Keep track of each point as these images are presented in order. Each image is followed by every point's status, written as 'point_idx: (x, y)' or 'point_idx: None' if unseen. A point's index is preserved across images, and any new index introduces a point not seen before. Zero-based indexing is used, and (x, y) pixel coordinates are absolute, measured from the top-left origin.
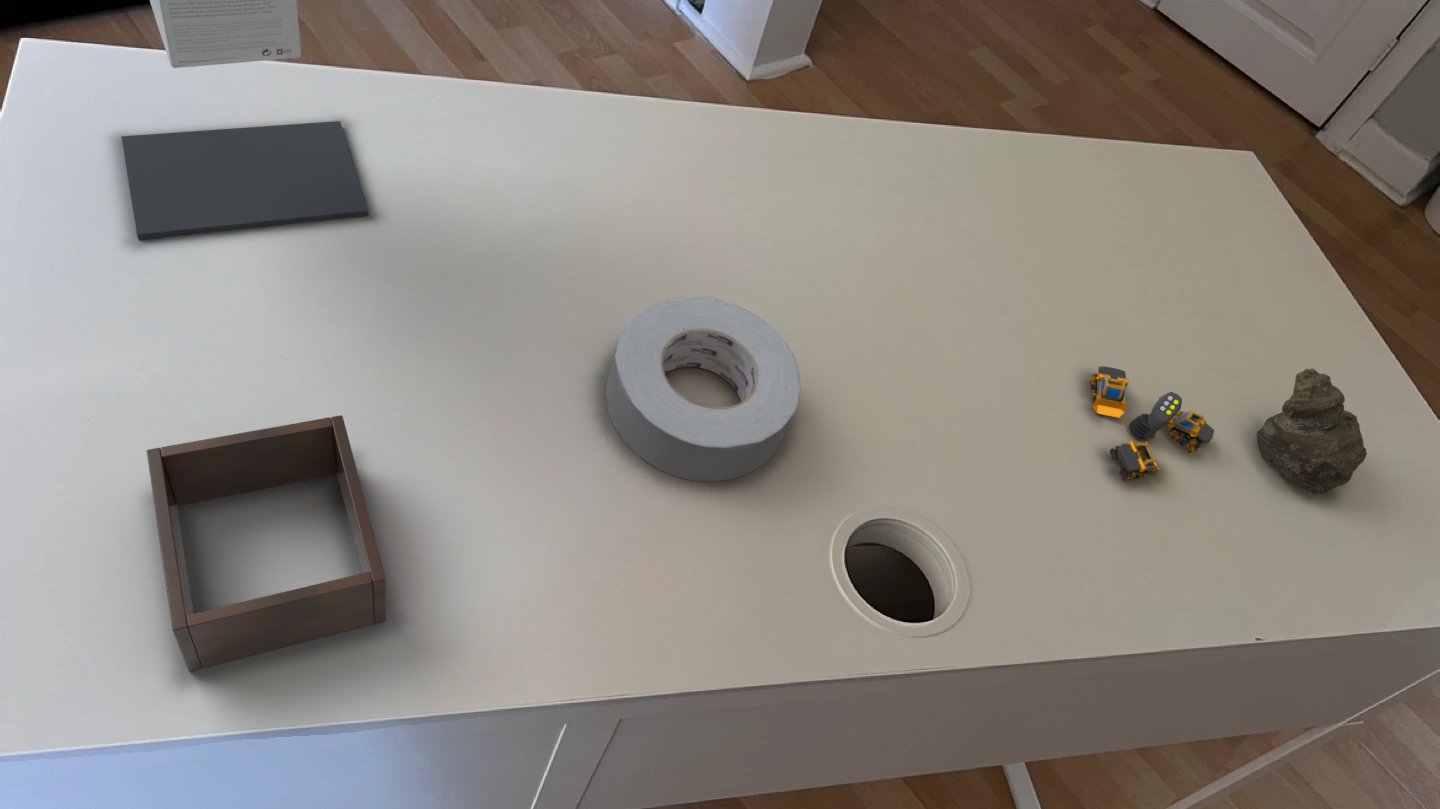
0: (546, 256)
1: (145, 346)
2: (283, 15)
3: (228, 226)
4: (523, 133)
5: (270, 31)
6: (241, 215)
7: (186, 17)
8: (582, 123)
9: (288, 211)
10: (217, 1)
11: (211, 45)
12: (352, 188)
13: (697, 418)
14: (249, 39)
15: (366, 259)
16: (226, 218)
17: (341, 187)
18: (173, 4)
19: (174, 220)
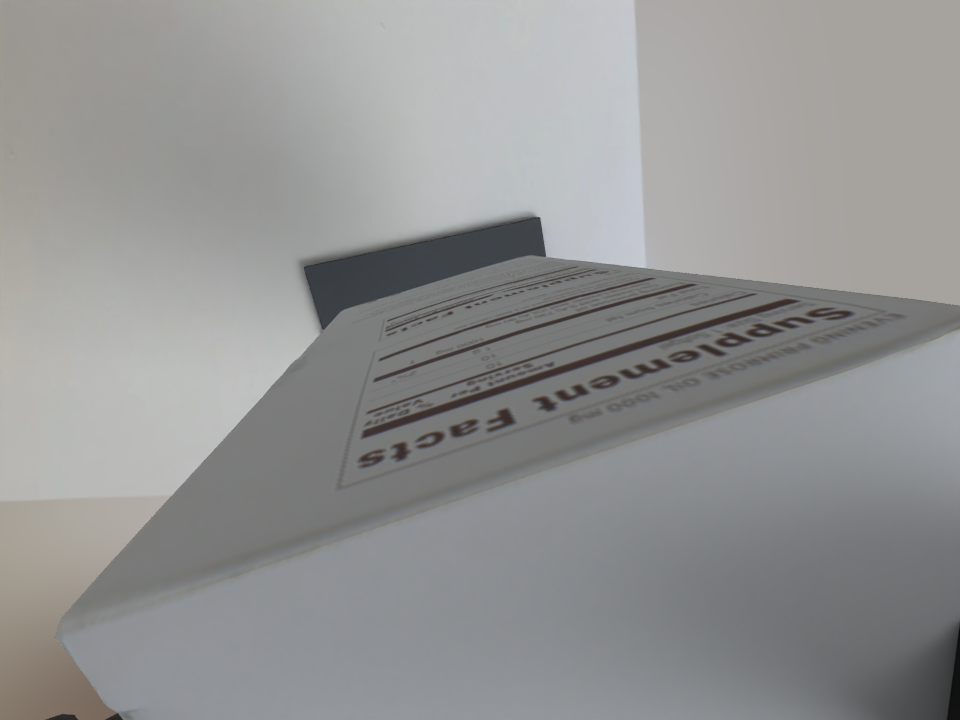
0: (59, 199)
1: (521, 52)
2: (352, 317)
3: (454, 235)
4: (122, 431)
5: (381, 303)
6: (442, 251)
7: (525, 267)
8: (38, 461)
9: (393, 260)
10: (472, 285)
11: (479, 272)
12: (325, 303)
13: None
14: (418, 290)
15: (300, 191)
16: (456, 246)
17: (338, 304)
18: (552, 264)
19: (507, 240)
